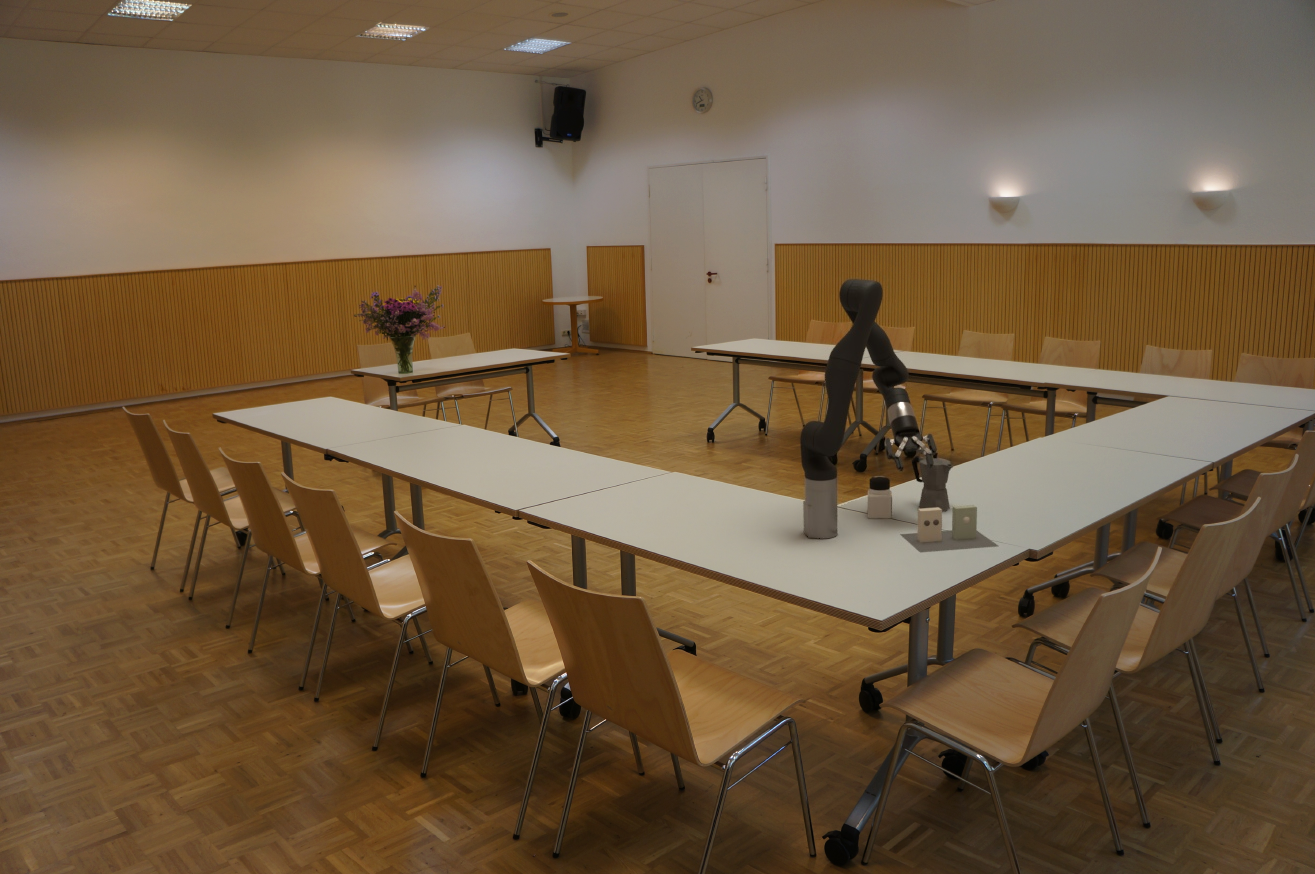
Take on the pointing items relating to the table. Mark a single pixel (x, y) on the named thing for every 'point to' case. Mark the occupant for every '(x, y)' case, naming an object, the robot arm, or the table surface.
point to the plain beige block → (929, 524)
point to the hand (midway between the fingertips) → (916, 468)
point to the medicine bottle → (880, 498)
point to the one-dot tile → (964, 522)
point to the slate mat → (949, 542)
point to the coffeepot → (933, 482)
